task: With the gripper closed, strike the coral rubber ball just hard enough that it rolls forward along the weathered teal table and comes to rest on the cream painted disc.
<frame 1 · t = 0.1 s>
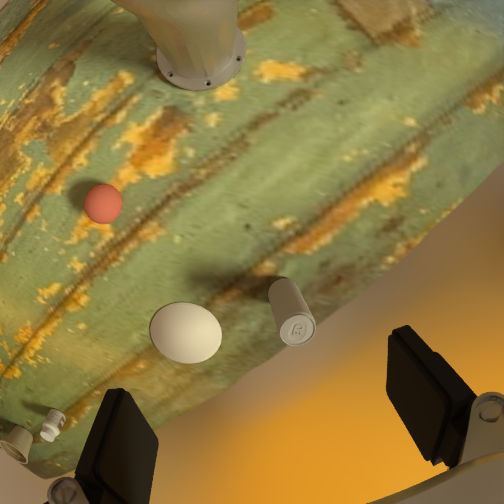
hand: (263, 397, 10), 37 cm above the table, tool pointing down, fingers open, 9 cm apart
beverage can: (282, 290, 49), on the table
flower pot: (24, 431, 58), on the table
pill bottle: (58, 414, 56), on the table
ball: (103, 203, 40), on the table
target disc: (185, 334, 50), on the table
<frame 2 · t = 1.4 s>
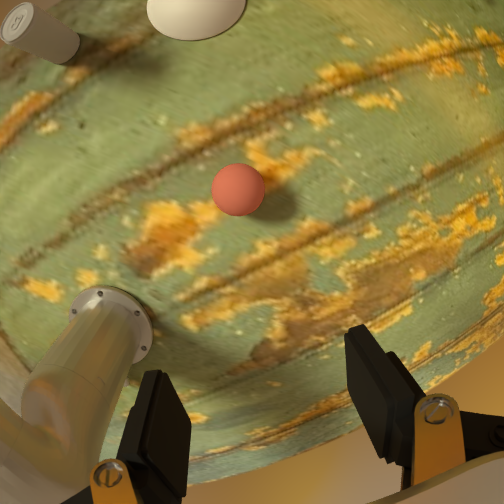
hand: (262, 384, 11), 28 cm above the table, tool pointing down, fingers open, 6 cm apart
beverage can: (66, 48, 28), on the table
ball: (238, 189, 33), on the table
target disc: (195, 0, 28), on the table
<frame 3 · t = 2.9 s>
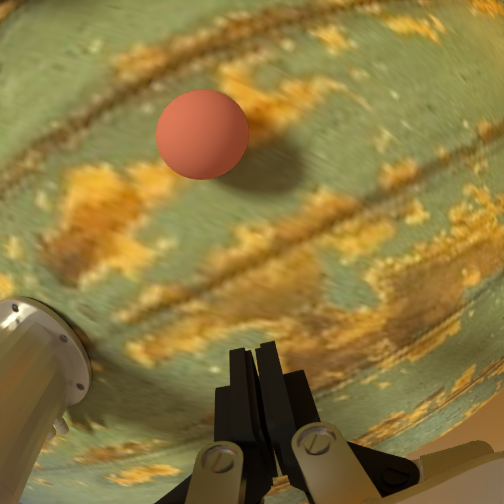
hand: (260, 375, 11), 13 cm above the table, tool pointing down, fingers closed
ball: (202, 134, 18), on the table
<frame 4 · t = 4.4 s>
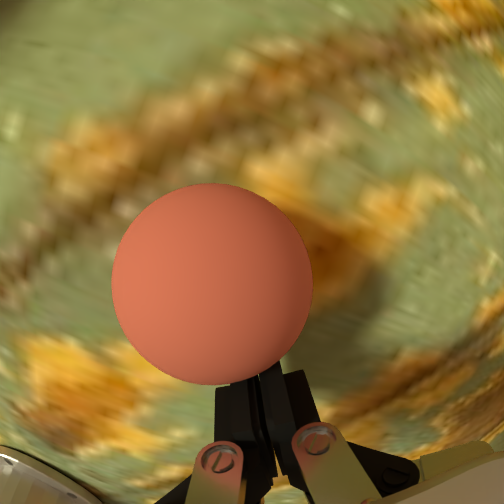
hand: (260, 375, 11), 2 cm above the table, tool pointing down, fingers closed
ball: (211, 284, 9), on the table
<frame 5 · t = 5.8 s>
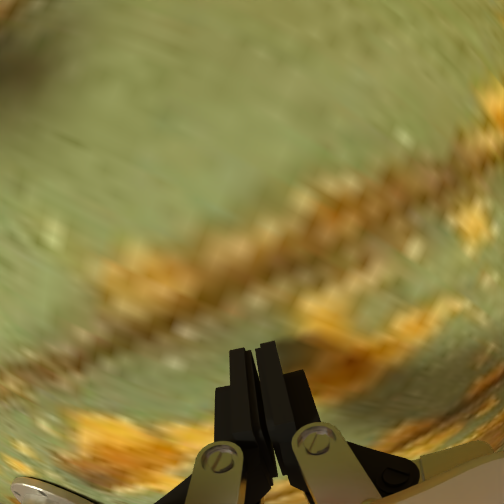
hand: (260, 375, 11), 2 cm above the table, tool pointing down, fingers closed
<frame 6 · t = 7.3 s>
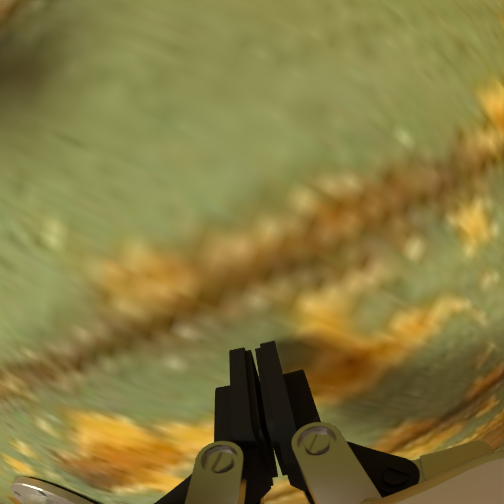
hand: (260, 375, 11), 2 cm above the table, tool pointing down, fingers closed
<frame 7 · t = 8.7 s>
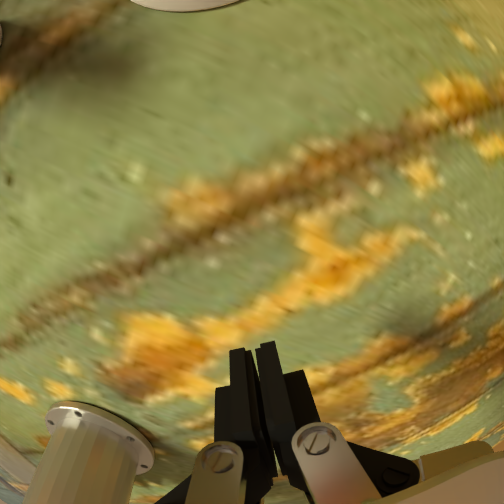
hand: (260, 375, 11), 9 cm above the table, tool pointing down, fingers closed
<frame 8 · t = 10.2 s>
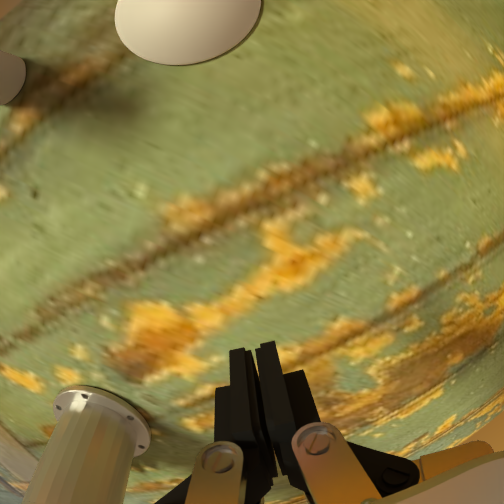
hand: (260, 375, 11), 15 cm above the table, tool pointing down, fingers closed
beverage can: (11, 81, 19), on the table
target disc: (186, 2, 19), on the table
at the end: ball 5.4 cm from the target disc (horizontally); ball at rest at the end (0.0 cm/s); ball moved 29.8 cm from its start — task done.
